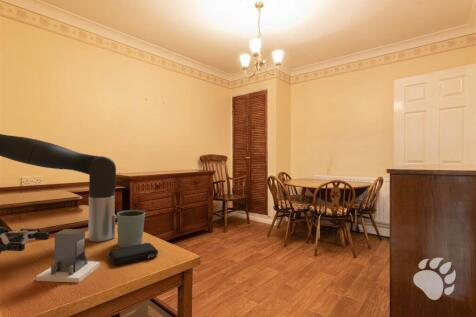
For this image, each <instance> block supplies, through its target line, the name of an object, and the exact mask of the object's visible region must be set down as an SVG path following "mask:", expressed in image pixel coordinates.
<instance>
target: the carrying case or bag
mask: <svg viewBox="0 0 476 317" xmlns="http://www.w3.org/2000/svg"><path fill="white" fill-rule="evenodd" d="M158 254H159V250H158V249H157V248H156V247H155V246H154V244H152V243H150V242H145V243H141V244H138V245H133V246H128V247H119V248H113V249H111V250H110V251H109V253H108V258H109V260H110V261H111V263H112V264H113V265H114V266H122V265H127V264H131V263H135V262H138V261H139V262H140V261H143V260H144V259H145V260H148V259H149V260H150V259H152V258H156V257H157V255H158Z"/></svg>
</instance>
